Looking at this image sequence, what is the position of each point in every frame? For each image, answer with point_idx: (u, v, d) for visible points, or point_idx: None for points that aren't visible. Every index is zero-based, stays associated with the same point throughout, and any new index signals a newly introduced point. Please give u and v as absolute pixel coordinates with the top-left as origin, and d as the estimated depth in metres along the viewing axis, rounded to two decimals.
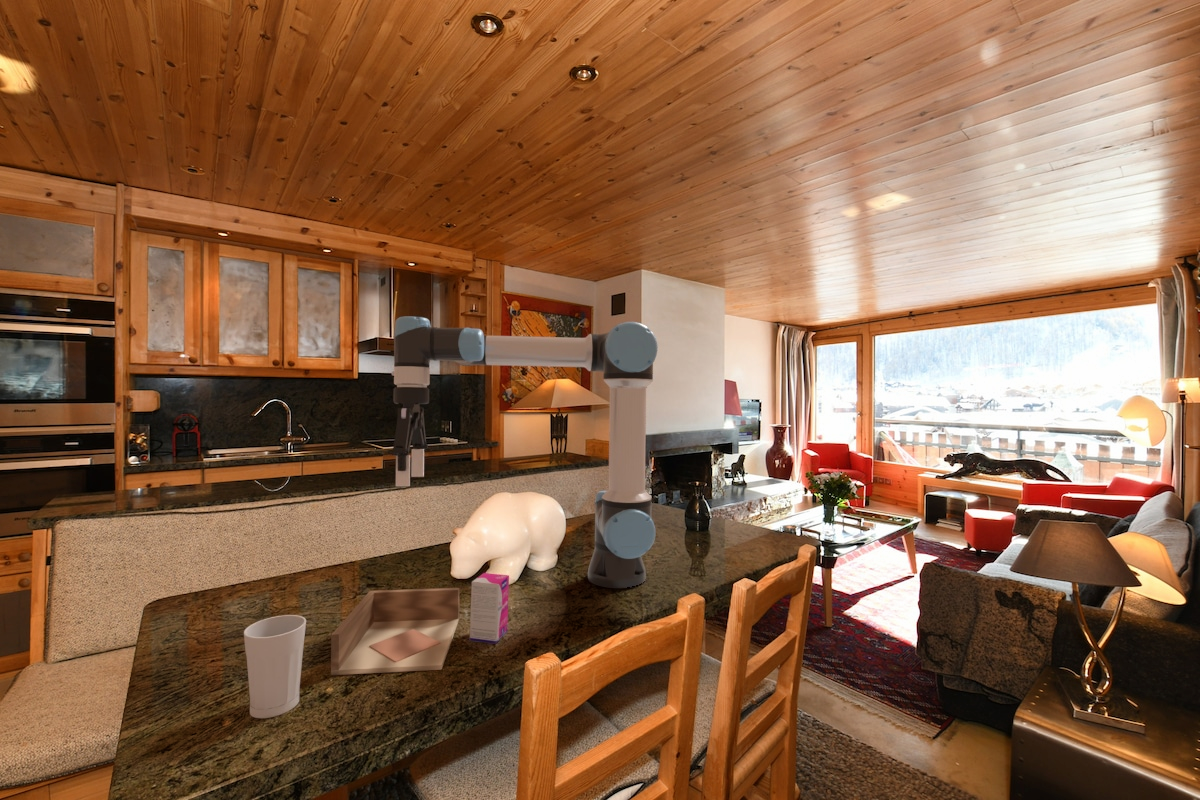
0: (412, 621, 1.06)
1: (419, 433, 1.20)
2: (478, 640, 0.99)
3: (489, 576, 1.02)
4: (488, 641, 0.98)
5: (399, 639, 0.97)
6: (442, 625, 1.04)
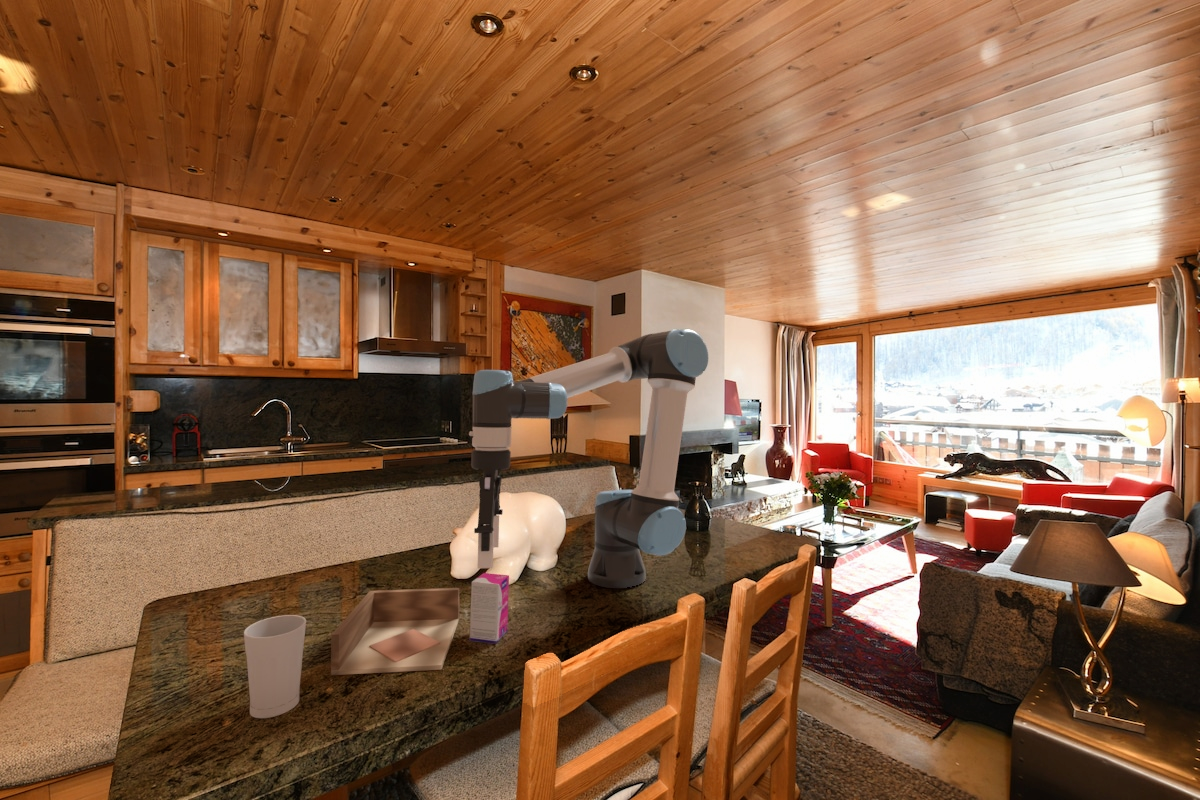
0: (412, 621, 1.06)
1: (496, 499, 1.05)
2: (478, 640, 0.99)
3: (489, 576, 1.02)
4: (488, 641, 0.98)
5: (399, 639, 0.97)
6: (442, 625, 1.04)
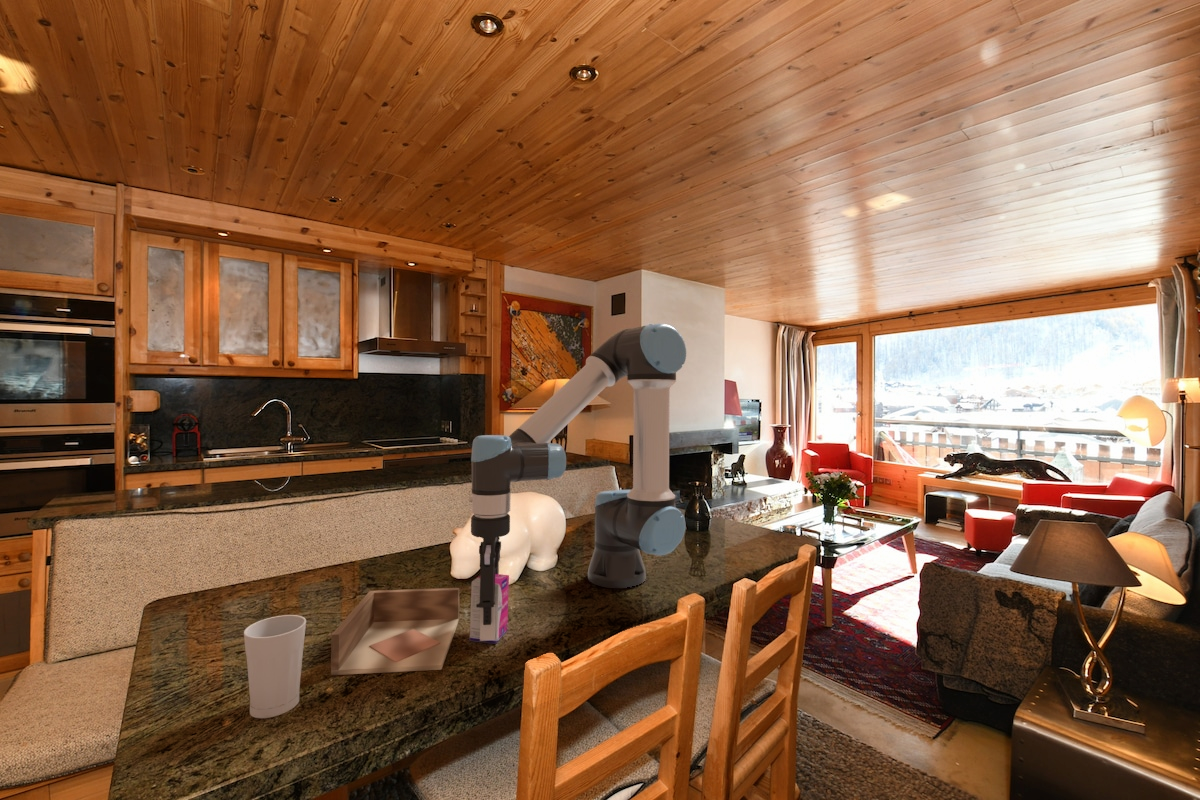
0: (412, 621, 1.06)
1: (495, 568, 1.04)
2: (478, 640, 0.99)
3: None
4: (488, 641, 0.98)
5: (399, 639, 0.97)
6: (442, 625, 1.04)
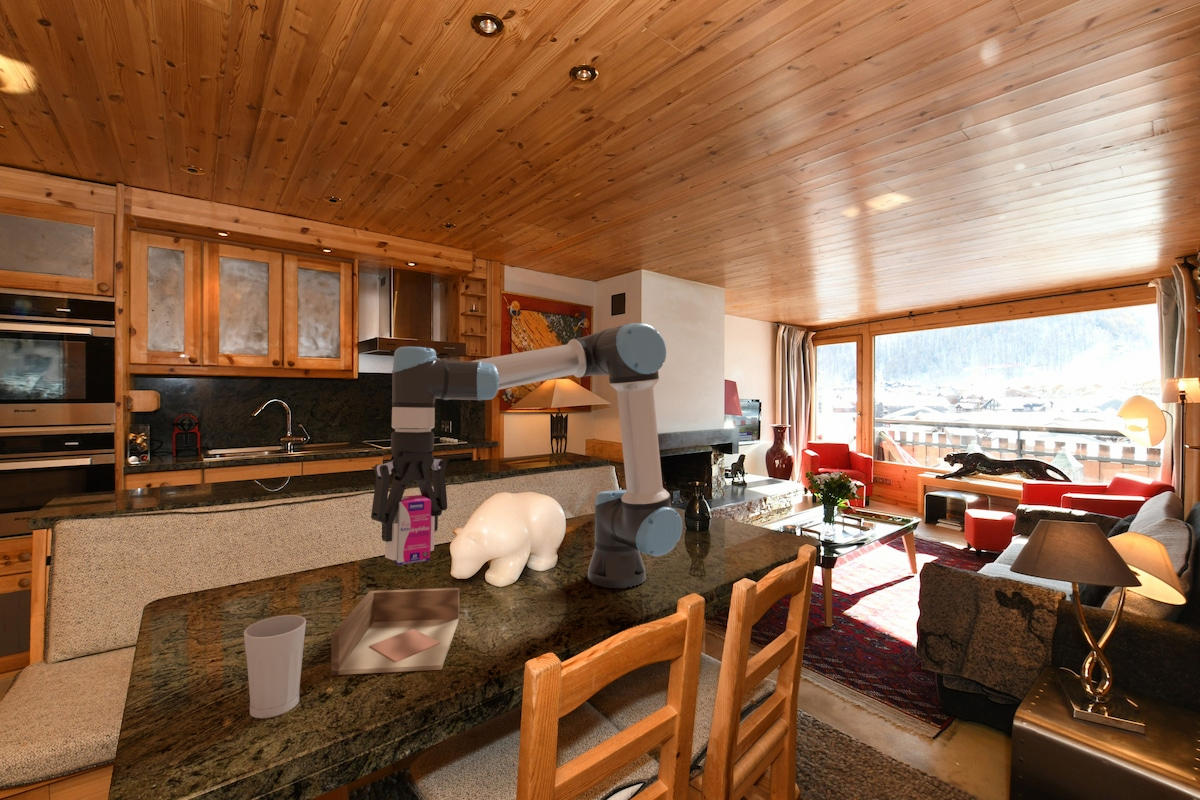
0: (412, 621, 1.06)
1: (426, 491, 0.97)
2: None
3: (415, 497, 0.97)
4: (395, 561, 0.93)
5: (399, 639, 0.97)
6: (442, 625, 1.04)
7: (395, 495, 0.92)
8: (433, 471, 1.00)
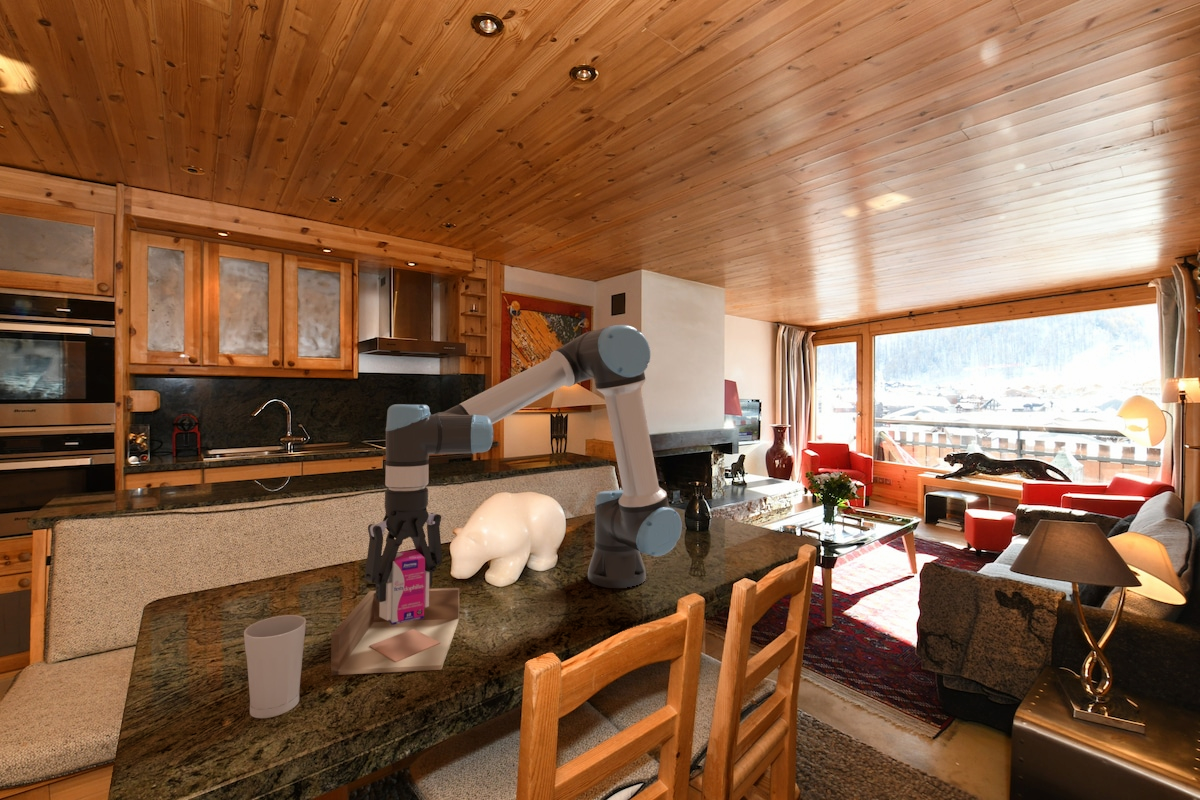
0: (412, 621, 1.06)
1: (420, 547, 0.97)
2: None
3: (409, 554, 0.96)
4: (389, 620, 0.93)
5: (399, 639, 0.97)
6: (442, 625, 1.04)
7: (389, 555, 0.92)
8: (428, 525, 1.00)
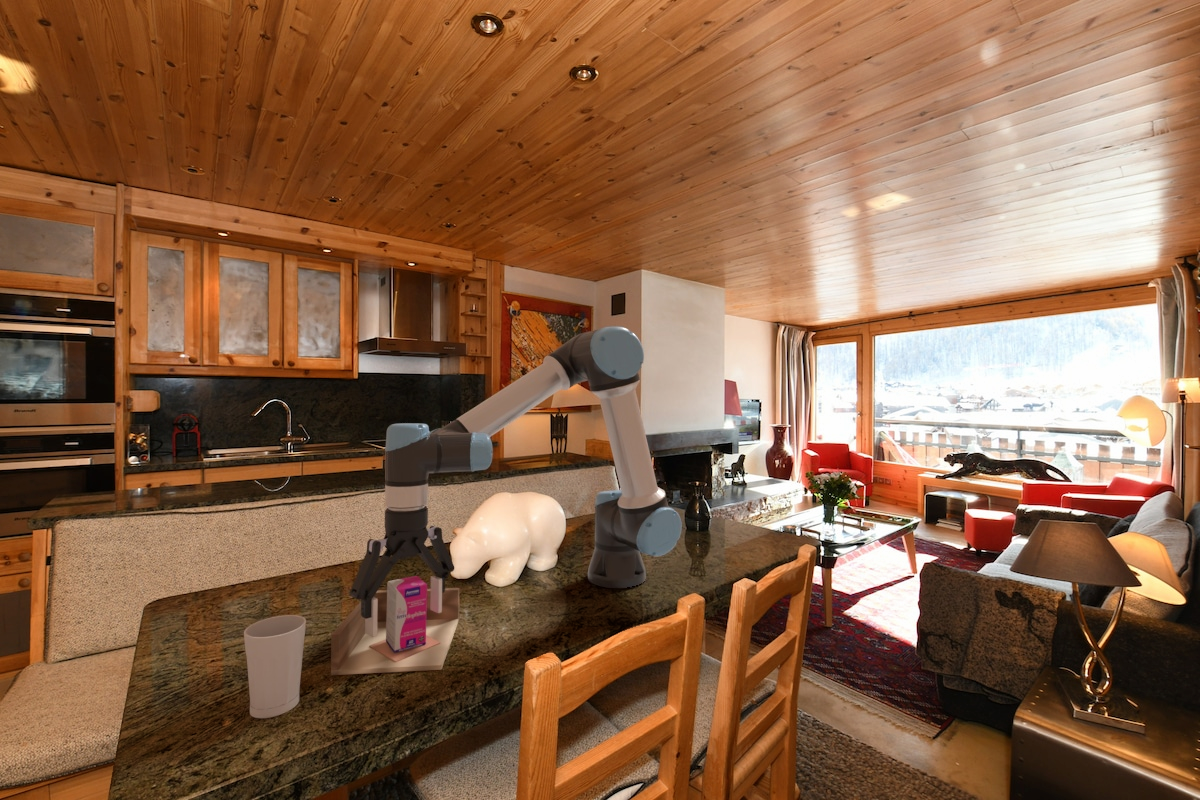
0: None
1: (428, 561, 0.98)
2: (388, 644, 0.95)
3: (410, 580, 0.96)
4: (391, 648, 0.93)
5: None
6: (442, 625, 1.04)
7: (381, 571, 0.91)
8: (431, 539, 1.00)
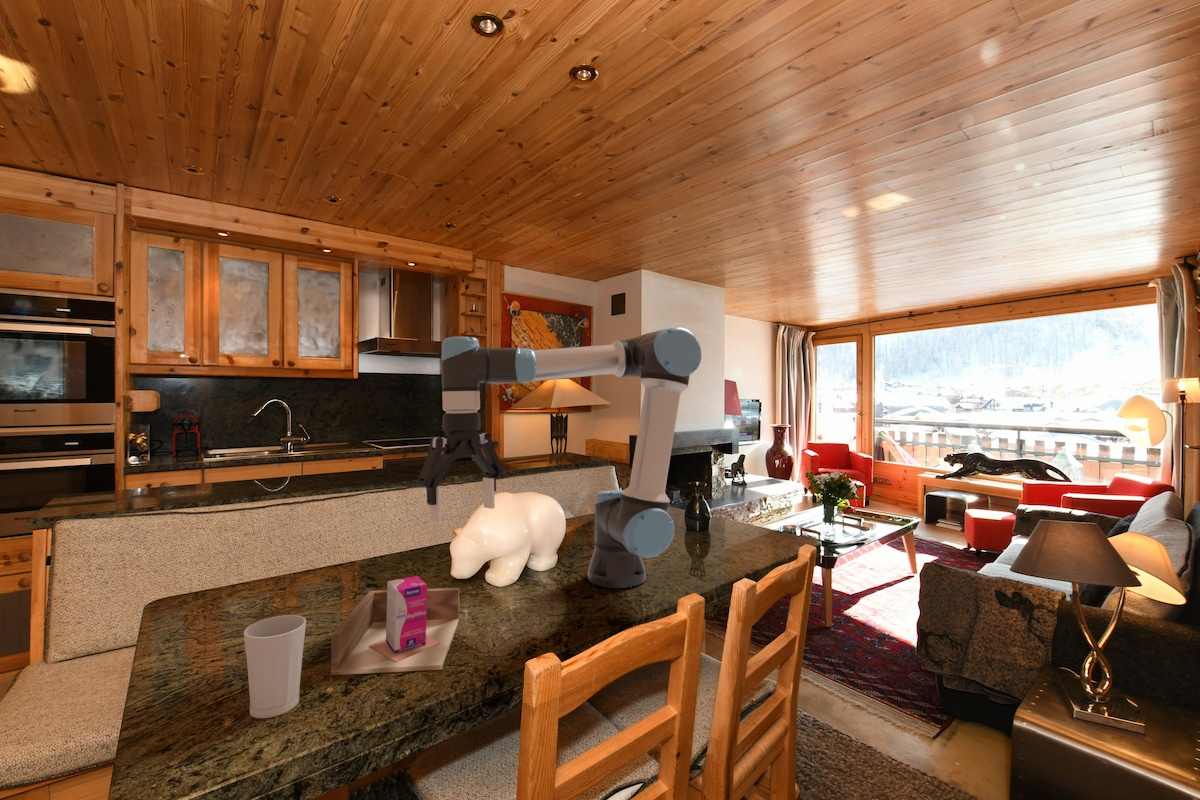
0: None
1: (481, 461, 1.10)
2: (388, 644, 0.95)
3: (410, 580, 0.96)
4: (391, 648, 0.93)
5: None
6: (442, 625, 1.04)
7: (443, 465, 1.02)
8: (481, 444, 1.12)
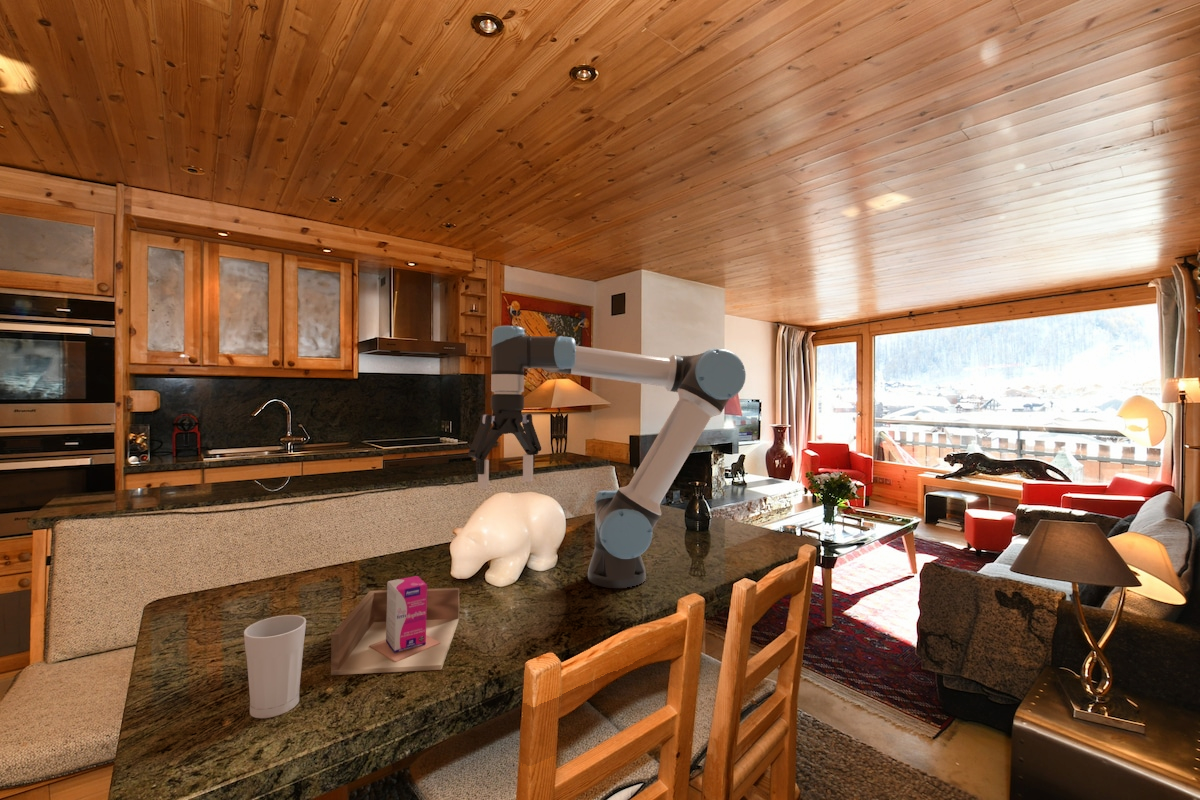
0: None
1: (523, 439, 1.22)
2: (388, 644, 0.95)
3: (410, 580, 0.96)
4: (391, 648, 0.93)
5: None
6: (442, 625, 1.04)
7: (491, 439, 1.15)
8: (523, 424, 1.24)
